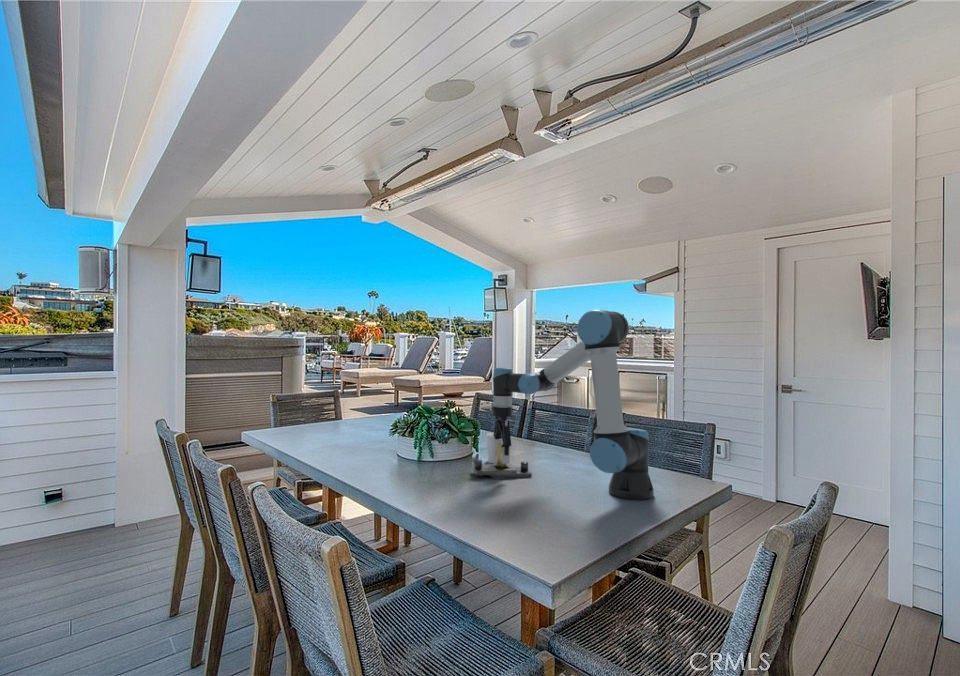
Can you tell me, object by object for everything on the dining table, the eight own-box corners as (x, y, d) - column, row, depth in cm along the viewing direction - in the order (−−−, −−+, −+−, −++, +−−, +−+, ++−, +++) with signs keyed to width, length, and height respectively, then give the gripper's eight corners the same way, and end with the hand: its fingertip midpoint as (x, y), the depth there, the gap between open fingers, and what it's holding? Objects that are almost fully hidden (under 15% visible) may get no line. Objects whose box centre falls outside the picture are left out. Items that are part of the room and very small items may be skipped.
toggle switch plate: (524, 470, 199) (524, 455, 199) (531, 477, 189) (531, 461, 189) (472, 472, 195) (472, 457, 195) (476, 479, 185) (476, 463, 185)
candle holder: (508, 464, 208) (509, 436, 209) (486, 464, 209) (486, 436, 209) (507, 459, 218) (508, 432, 218) (486, 458, 218) (486, 432, 219)
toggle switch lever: (505, 473, 195) (505, 443, 195) (507, 475, 191) (507, 445, 191) (495, 473, 194) (495, 443, 194) (497, 476, 190) (498, 446, 190)
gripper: (486, 402, 204) (486, 452, 204) (500, 410, 180) (499, 467, 179) (504, 402, 205) (503, 451, 205) (519, 410, 181) (519, 466, 181)
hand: (501, 459), depth 192 cm, fingers open, 13 cm apart
